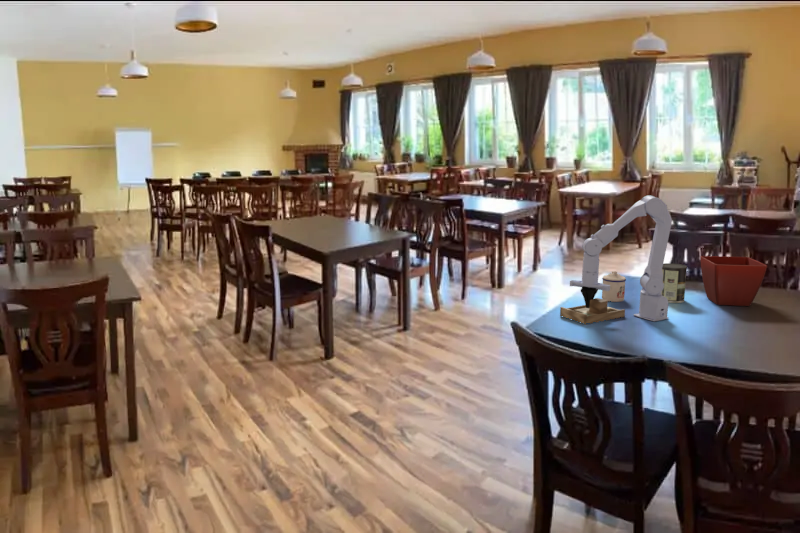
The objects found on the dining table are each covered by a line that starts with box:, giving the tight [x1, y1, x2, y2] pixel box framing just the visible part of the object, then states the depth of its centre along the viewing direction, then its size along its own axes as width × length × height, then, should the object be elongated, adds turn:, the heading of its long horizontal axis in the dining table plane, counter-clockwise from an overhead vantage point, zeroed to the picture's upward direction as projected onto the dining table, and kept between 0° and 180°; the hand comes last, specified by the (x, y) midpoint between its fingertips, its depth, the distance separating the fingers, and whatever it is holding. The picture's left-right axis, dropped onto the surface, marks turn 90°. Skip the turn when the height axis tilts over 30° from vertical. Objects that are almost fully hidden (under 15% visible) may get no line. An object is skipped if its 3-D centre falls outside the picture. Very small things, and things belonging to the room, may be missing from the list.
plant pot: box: [699, 255, 768, 307], centre depth 275 cm, size 19×19×17 cm
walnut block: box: [589, 297, 609, 314], centre depth 254 cm, size 4×4×4 cm
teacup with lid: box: [601, 270, 627, 303], centre depth 281 cm, size 12×9×12 cm
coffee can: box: [662, 262, 688, 304], centre depth 279 cm, size 10×10×14 cm
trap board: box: [559, 304, 626, 325], centre depth 255 cm, size 12×20×4 cm, turn 121°
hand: (588, 307), depth 257 cm, fingers closed
